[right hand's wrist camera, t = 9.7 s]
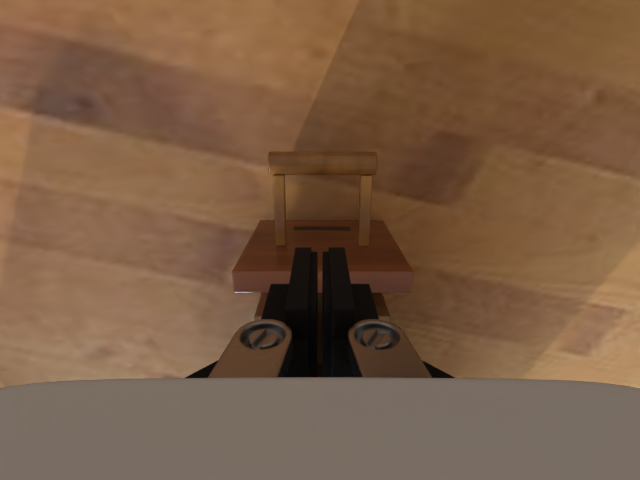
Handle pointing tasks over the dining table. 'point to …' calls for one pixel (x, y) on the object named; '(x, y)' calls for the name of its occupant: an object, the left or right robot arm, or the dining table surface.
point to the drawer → (323, 237)
